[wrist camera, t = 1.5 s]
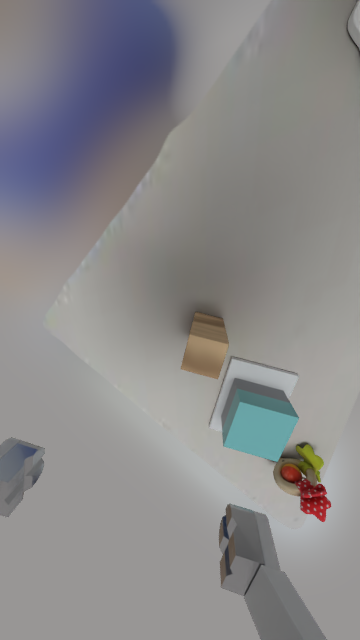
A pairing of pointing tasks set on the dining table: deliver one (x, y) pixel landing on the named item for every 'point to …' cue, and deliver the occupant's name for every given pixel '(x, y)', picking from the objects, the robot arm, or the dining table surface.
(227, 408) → the brick tower
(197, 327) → the oak brick
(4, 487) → the robot arm
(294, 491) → the bird rattle
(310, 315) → the dining table surface
